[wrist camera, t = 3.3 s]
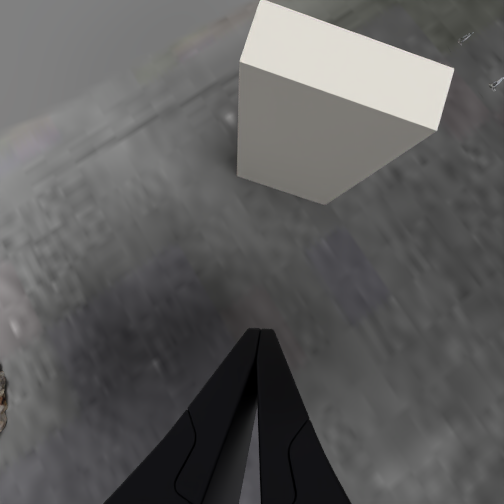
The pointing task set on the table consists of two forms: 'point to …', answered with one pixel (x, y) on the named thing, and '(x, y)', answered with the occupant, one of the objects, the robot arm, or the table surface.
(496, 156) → the table surface
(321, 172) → the tile
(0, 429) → the mineral rock
